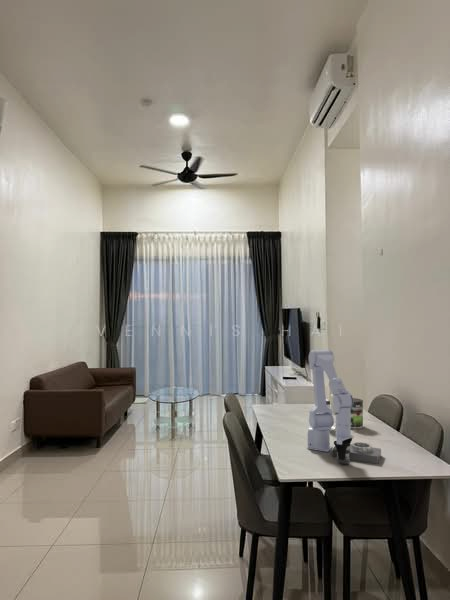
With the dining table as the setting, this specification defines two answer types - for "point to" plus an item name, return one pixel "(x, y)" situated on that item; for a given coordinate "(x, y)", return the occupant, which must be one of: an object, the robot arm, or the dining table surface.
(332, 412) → the toilet tissue
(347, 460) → the lens
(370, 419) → the dining table surface
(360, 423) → the coffee can
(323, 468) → the dining table surface
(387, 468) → the dining table surface
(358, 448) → the camera body
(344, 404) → the robot arm
